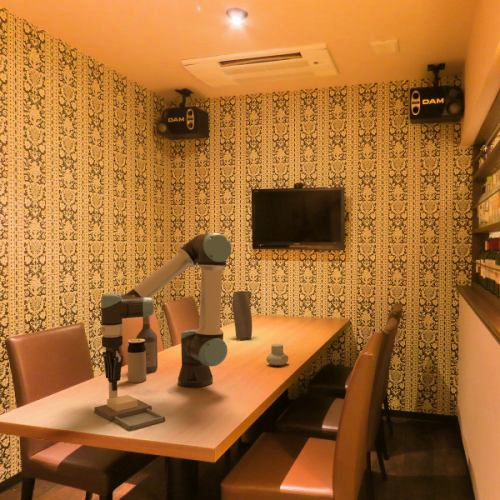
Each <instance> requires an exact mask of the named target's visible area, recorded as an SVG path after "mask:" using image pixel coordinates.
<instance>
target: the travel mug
mask: <svg viewBox="0 0 500 500" xmlns="http://www.w3.org/2000/svg"><path fill="white" fill-rule="evenodd" d="M144 341H145V340H144V339H136V338H133V339H128V340H127V343H128V346H127V349H126V350H127V382H130V383H142V382H145V381H147V373H146V347H145V345H144Z"/></svg>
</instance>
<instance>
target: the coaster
mask: <svg viewBox="0 0 500 500" xmlns="http://www.w3.org/2000/svg"><path fill="white" fill-rule="evenodd" d="M138 400H139V399H138ZM138 400H137V398H136V399H135V397H133V396H131V395H129V394H125V395H120V396H118V397H115V398H111V399H109V398H107V399H106V405H107V406H108V407H110V408H111V409H113V410H115V411H121V410H125V409H129V408H133V407H138Z"/></svg>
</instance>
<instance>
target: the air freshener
mask: <svg viewBox="0 0 500 500" xmlns="http://www.w3.org/2000/svg"><path fill="white" fill-rule="evenodd" d="M270 352H271V353H268V355H267V356H266V362H267V363H268V364H269V365H271V366H273V365H274V366H273V367H282V366H281V365H283V366H284V365H286V364H287V363H288V361H289V356H288V355H287V353H284V344H283V343H273V344H271V351H270Z"/></svg>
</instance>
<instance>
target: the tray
mask: <svg viewBox="0 0 500 500" xmlns="http://www.w3.org/2000/svg"><path fill="white" fill-rule="evenodd" d="M113 422H115V423H117V425H120V426H122V427H123V428H125V429H127V430H128V431H129V432H130V431H134V430H138V429H142V428H145V427H149V426H152V425H156V424H157V425H158V424H160V423H164V422H166V416H165V415H162V414H161V413H158V412H157V411H154V410H153V409H152V410H150V409H146V412H144V413H140V414H136V415H132V416H128V417H124V418H118V417H117V416H115V417H114V421H113Z"/></svg>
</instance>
